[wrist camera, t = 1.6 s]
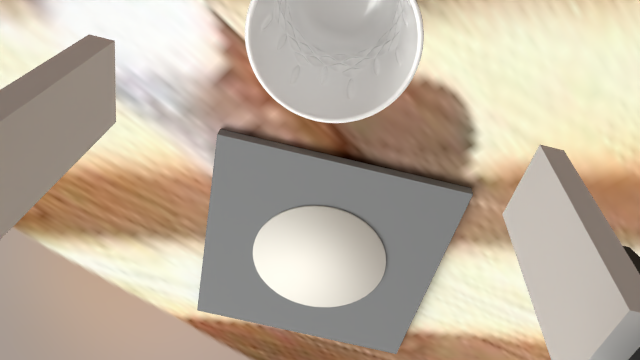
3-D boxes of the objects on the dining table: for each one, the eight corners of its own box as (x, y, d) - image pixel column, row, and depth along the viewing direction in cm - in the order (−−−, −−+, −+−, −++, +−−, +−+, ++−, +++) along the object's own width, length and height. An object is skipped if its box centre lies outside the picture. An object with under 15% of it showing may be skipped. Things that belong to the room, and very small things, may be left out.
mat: (199, 303, 47) (196, 311, 46) (220, 129, 37) (216, 135, 36) (395, 346, 48) (396, 355, 47) (471, 188, 37) (473, 195, 37)
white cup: (255, -2, 31) (211, 53, 23) (336, -116, 27) (318, -101, 19) (351, 77, 33) (343, 152, 25) (438, -19, 30) (462, 33, 21)
